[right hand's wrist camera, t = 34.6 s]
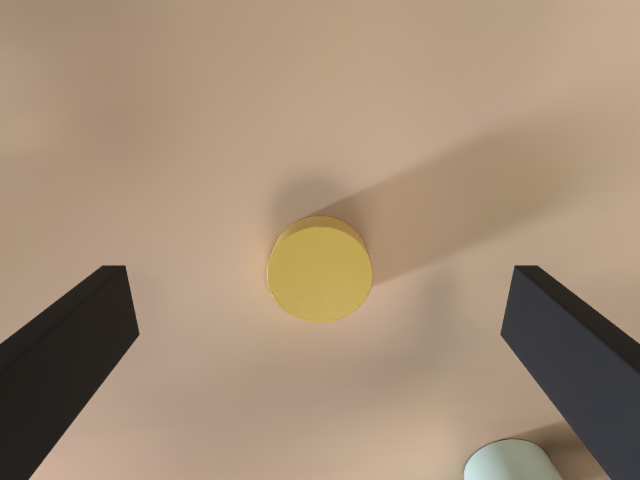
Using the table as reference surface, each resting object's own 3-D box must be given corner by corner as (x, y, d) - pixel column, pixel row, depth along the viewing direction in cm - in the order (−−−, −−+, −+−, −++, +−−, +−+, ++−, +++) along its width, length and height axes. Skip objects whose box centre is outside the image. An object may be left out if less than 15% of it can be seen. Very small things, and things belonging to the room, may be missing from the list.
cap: (285, 312, 18) (282, 331, 17) (259, 227, 17) (253, 240, 15) (376, 293, 18) (381, 311, 16) (357, 205, 16) (361, 215, 15)
